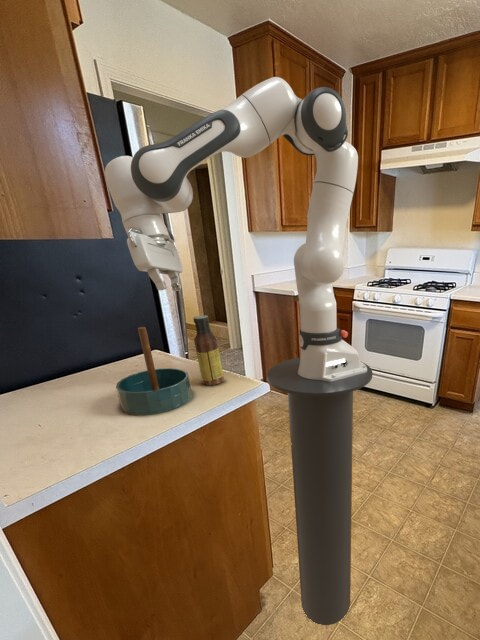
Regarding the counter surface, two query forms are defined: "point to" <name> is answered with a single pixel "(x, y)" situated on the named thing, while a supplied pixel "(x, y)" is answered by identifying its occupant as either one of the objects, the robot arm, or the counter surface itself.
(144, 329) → the wooden dowel stand
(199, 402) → the counter surface
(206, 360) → the sauce bottle
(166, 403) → the bowl
